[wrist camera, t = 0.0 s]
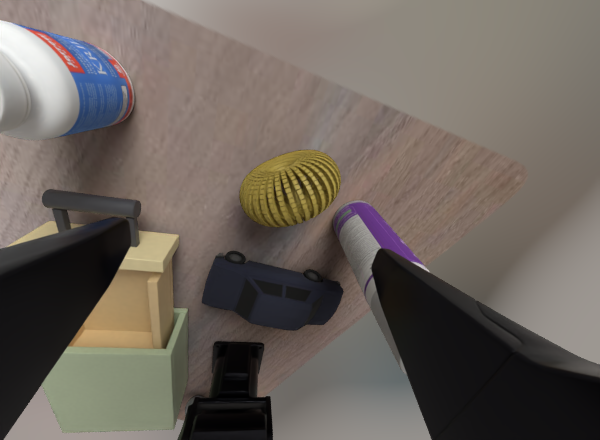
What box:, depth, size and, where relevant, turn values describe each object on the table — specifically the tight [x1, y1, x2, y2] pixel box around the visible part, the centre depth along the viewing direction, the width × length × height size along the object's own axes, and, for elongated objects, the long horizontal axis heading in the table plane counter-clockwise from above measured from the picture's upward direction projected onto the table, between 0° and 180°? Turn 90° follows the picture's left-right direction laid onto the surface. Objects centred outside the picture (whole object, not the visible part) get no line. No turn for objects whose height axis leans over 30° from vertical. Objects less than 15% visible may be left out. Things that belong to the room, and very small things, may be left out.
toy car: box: [202, 251, 344, 331], centre depth 27 cm, size 6×15×5 cm, turn 69°
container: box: [333, 200, 430, 374], centre depth 20 cm, size 5×5×15 cm
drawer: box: [7, 189, 179, 349], centre depth 23 cm, size 18×11×4 cm, turn 168°
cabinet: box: [41, 308, 188, 433], centre depth 29 cm, size 14×12×6 cm
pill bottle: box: [0, 20, 134, 140], centre depth 14 cm, size 6×5×10 cm
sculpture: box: [239, 150, 341, 227], centre depth 19 cm, size 8×4×8 cm, turn 108°
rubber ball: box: [185, 396, 204, 415], centre depth 37 cm, size 3×3×3 cm
